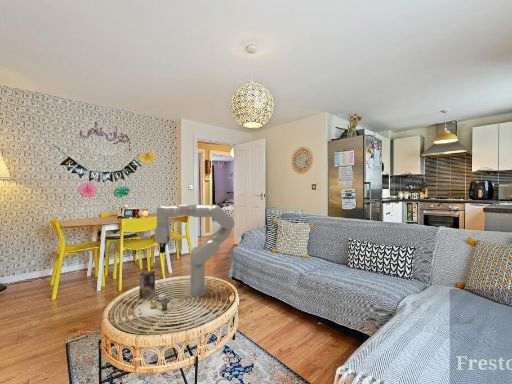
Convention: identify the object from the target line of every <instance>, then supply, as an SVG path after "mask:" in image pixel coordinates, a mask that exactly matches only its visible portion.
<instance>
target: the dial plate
mask: <svg viewBox="0 0 512 384" xmlns="http://www.w3.org/2000/svg"><path fill="white" fill-rule="evenodd" d="M156 299H157V301H158V298H156ZM158 302H159V301H158ZM163 302H167V308H168V309H166V310H162V306H157V307H156V308H150V300H148V301H146V302H143V303H141V304H138V306H136V308H135V309H134V313H135V315H137V316H139V317H144V318H145V317H156V316H159V315H163V314H164V313H166V312H168V311H169V310H170V309H171V308H172V306H173V305H172V302H171V301H170V298H169V297H165V301H163ZM140 307H141V313H142V315H140V314H141V313H140V311H139V309H140Z"/></svg>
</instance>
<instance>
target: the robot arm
mask: <svg viewBox="0 0 512 384" xmlns="http://www.w3.org/2000/svg"><path fill="white" fill-rule="evenodd" d="M180 216H188V217H192V218H193V217H194V218H212V219H213V220H214V221H215V222H216V223H218V225H220V227H219V228H218V230H217V231H215V232H214V233H213V234H212V235H210V236H209V237H208V238H206V239H205V241H204V243H203V244H202V245H201V246H195V247H193V248H192V250H191V251H190V277H189V278H190V286H189V288H190V289H189V290H188V292H187V294H188V295H189V296H192V297H194V296H195V297H198V298H202V297H204V296H206V295H207V294H206V292H207V293H208V291H207V288H208V287H210V284H209V283H206V282H205V279H206V277H205V276H206V262H207V261H208V260H210V259H211V258H212V257H214V255H216V254H217V252H218V251H219V250H220V245H221V244H222V243H224V242H225V241H226V240H227V239H228V238H229V237H230V235H231V233H232V231H233V230H232V229H233V228H234V226H235V219H234V218H232V216H230V214H228V213H227V212H226V211H225V210H224V209H223V208H222V207H221V206H220V205H218V204H175V205H174V204H173V205H172V206H168V205H158V206H157V207H156V226H155V231H154V241H155V243H157V244H158V247H159V254H164V253H166V247H167V246H168V245H170V240H171V230H170V218H178V217H180ZM205 294H206V295H205Z"/></svg>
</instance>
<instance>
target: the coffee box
mask: <svg viewBox="0 0 512 384" xmlns="http://www.w3.org/2000/svg"><path fill="white" fill-rule="evenodd" d="M155 297H156V271H155V270H154V271H144V272H141V271H140V274H139V299H141V300H142V299H143V300H144V299H149V298H150V299H151V298H155Z"/></svg>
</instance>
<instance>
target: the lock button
mask: <svg viewBox="0 0 512 384" xmlns="http://www.w3.org/2000/svg"><path fill="white" fill-rule="evenodd" d="M165 298H166V294H164V293H161V294H158V298H157V299H158V301H159V302H163V301H165Z"/></svg>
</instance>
